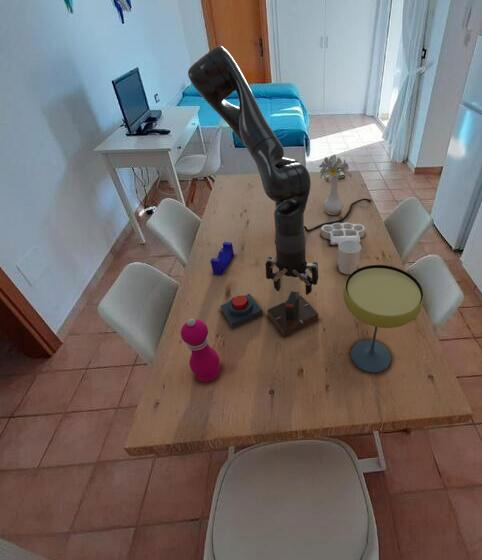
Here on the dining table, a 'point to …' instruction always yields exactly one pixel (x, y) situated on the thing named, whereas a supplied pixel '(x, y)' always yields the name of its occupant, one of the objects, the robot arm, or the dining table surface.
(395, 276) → the cocktail glass
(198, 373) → the pepper mill
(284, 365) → the dining table surface
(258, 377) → the dining table surface
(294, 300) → the selector knob handle
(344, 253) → the white cup
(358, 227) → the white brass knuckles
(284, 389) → the dining table surface
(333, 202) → the flower vase
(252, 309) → the button box
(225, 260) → the blue notched block
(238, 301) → the button
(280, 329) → the switch base
